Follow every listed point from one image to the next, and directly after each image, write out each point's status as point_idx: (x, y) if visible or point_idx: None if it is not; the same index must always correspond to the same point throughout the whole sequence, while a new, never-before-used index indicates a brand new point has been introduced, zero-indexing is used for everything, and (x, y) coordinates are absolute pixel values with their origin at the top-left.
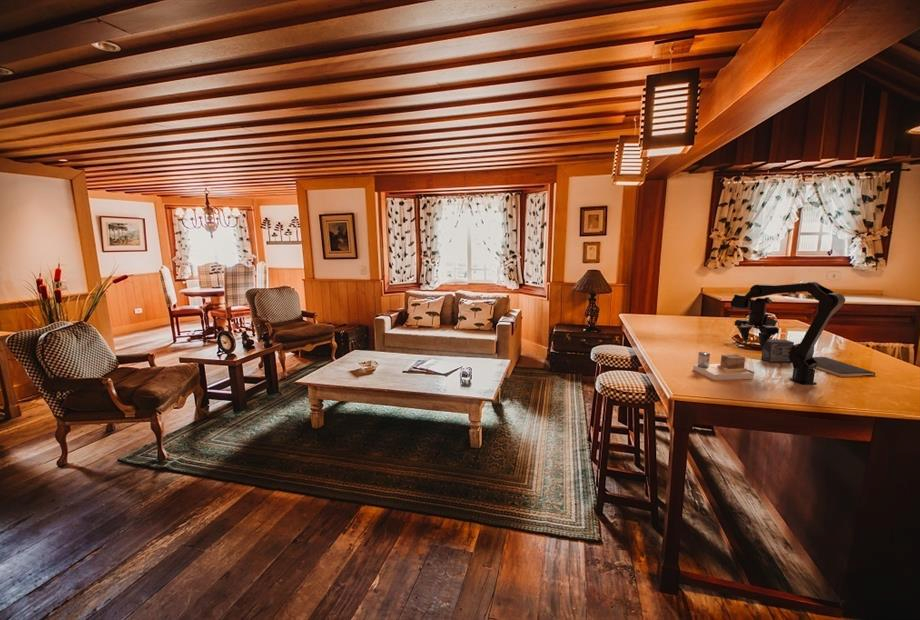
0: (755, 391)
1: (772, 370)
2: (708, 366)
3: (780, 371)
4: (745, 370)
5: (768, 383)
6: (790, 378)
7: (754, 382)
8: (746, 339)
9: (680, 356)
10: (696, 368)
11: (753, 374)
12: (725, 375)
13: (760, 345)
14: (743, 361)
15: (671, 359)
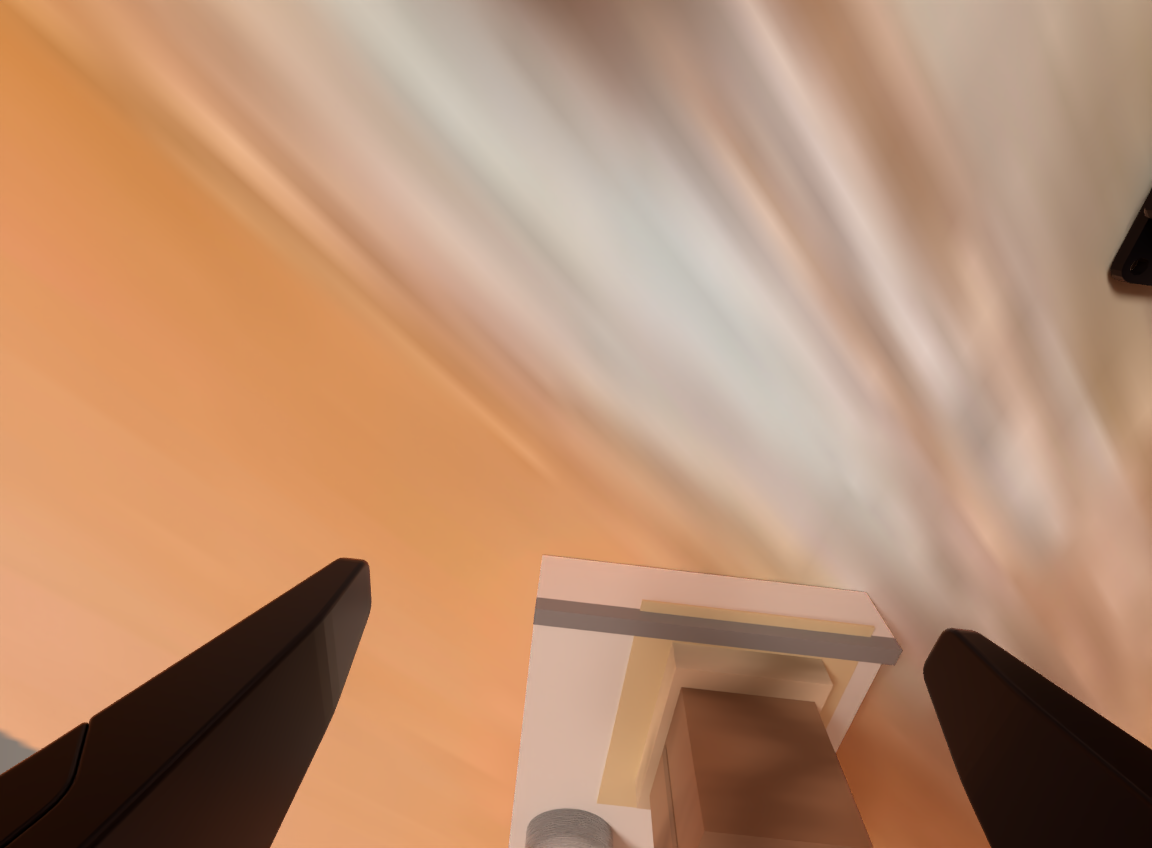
0: None
1: (768, 111)
2: (607, 835)
3: (852, 20)
4: (820, 674)
5: (1019, 581)
6: (1129, 261)
7: None
8: (335, 637)
9: (113, 671)
10: None
11: (885, 630)
12: None
13: (951, 725)
14: (843, 798)
15: None
